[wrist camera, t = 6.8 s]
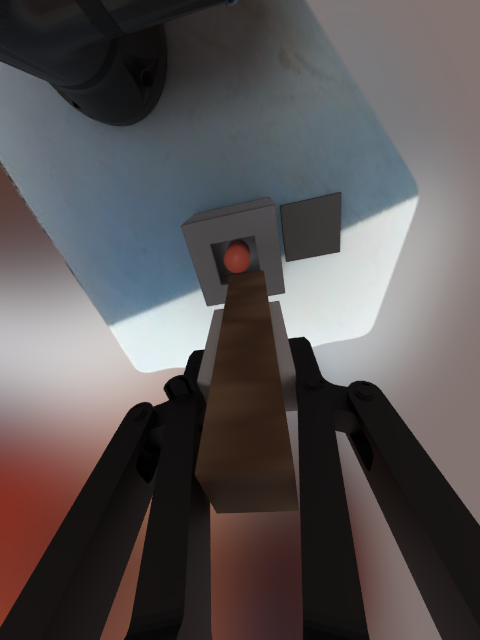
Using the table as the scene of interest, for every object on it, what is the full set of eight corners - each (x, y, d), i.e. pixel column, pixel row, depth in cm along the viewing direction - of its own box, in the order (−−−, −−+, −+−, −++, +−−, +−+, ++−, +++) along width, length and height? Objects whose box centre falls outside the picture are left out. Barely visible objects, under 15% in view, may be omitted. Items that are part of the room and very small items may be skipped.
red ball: (224, 242, 35) (221, 250, 32) (247, 237, 35) (247, 245, 31) (229, 264, 37) (227, 275, 34) (251, 260, 37) (252, 270, 33)
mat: (280, 205, 36) (280, 206, 36) (340, 192, 35) (341, 192, 35) (285, 260, 41) (286, 262, 41) (338, 250, 40) (340, 251, 39)
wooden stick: (236, 304, 22) (216, 513, 9) (229, 275, 21) (194, 474, 7) (267, 300, 22) (298, 510, 8) (263, 270, 20) (294, 469, 7)
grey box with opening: (194, 214, 37) (180, 225, 30) (269, 197, 36) (274, 204, 28) (214, 282, 44) (207, 306, 36) (278, 270, 42) (285, 293, 34)
